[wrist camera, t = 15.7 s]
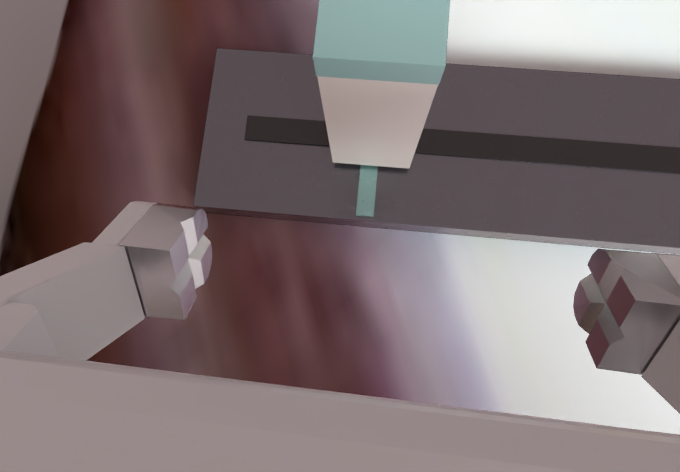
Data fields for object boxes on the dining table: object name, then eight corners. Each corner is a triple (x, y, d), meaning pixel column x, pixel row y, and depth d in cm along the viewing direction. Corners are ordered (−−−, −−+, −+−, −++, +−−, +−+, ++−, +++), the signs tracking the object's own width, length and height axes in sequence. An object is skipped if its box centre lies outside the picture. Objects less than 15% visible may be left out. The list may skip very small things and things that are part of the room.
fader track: (885, 272, 21) (928, 269, 20) (204, 212, 23) (192, 205, 21) (870, 108, 22) (909, 93, 21) (225, 64, 24) (216, 47, 23)
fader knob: (409, 170, 21) (445, 65, 12) (332, 164, 21) (312, 56, 12) (414, 104, 21) (452, -43, 13) (339, 99, 22) (325, -50, 13)
